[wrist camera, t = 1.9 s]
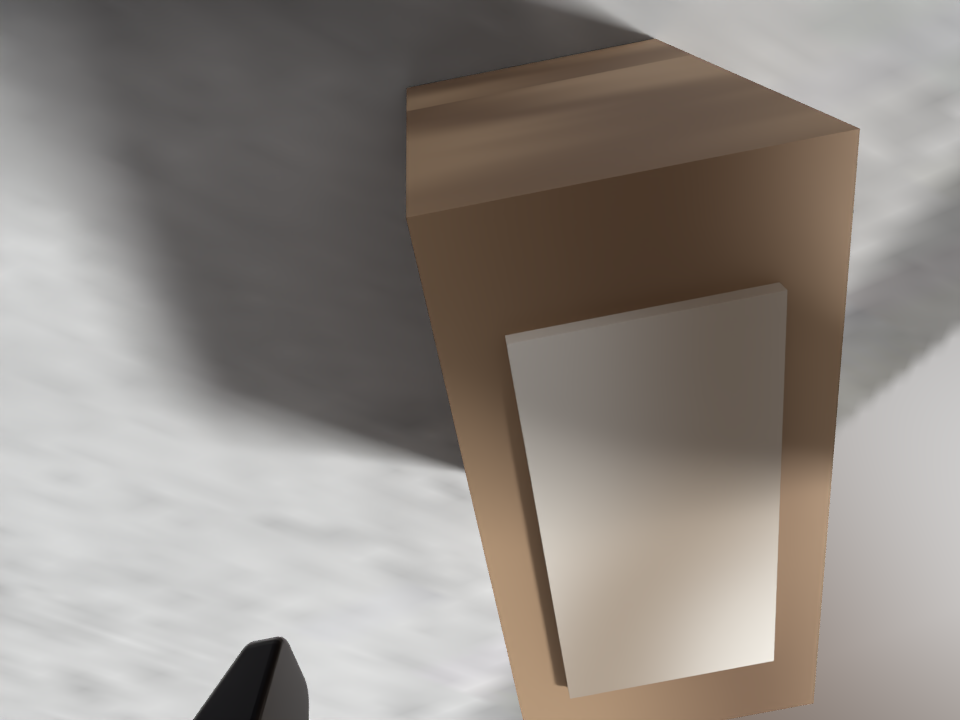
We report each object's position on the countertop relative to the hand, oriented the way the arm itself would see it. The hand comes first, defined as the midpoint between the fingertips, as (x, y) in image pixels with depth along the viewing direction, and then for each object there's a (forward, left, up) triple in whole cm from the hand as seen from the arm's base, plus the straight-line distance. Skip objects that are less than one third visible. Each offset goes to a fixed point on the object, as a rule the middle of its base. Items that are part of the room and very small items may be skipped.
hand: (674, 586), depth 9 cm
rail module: (0, 0, -8) cm, 8 cm away
